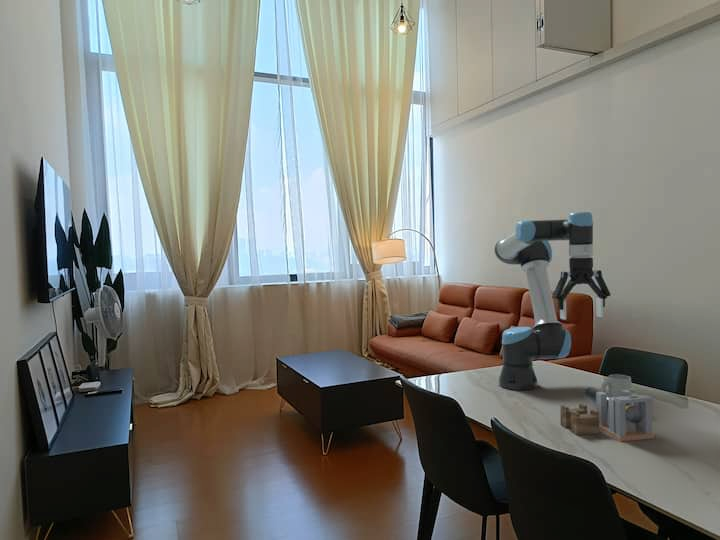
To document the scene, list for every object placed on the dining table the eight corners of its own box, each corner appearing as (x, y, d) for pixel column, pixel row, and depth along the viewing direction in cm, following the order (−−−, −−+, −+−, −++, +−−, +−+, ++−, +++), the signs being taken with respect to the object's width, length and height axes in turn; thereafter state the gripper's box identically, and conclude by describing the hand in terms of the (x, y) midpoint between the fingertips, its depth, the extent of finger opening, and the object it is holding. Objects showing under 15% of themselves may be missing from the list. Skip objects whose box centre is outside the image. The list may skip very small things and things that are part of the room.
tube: (587, 402, 166) (582, 389, 165) (599, 397, 166) (595, 384, 166) (631, 426, 144) (626, 411, 143) (645, 420, 144) (640, 405, 144)
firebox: (582, 419, 163) (581, 382, 162) (613, 416, 164) (613, 380, 164) (619, 441, 144) (619, 400, 144) (654, 438, 145) (654, 397, 145)
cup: (635, 404, 175) (634, 379, 175) (605, 404, 176) (605, 379, 176) (626, 398, 183) (625, 374, 182) (597, 398, 184) (597, 374, 183)
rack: (560, 424, 159) (560, 404, 158) (582, 422, 160) (582, 403, 159) (576, 435, 150) (576, 414, 150) (599, 433, 151) (599, 412, 150)
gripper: (552, 258, 168) (553, 321, 169) (621, 255, 171) (621, 317, 172) (541, 258, 175) (542, 318, 176) (607, 255, 178) (608, 314, 179)
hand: (581, 318), depth 174 cm, fingers open, 13 cm apart
